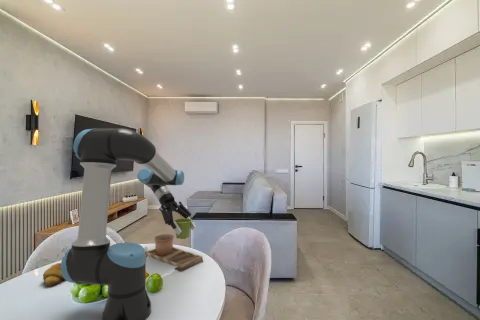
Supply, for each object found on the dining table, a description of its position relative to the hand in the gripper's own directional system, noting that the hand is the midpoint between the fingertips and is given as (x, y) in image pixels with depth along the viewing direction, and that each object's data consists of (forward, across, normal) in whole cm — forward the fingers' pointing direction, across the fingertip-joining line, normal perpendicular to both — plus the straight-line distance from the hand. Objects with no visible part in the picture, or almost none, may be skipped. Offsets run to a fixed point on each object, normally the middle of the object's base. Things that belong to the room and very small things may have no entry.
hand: (187, 230), depth 126 cm
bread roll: (-14, +42, -39) cm, 59 cm away
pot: (-2, -2, -24) cm, 24 cm away
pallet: (+4, -1, -20) cm, 20 cm away
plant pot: (+1, 0, -5) cm, 5 cm away
